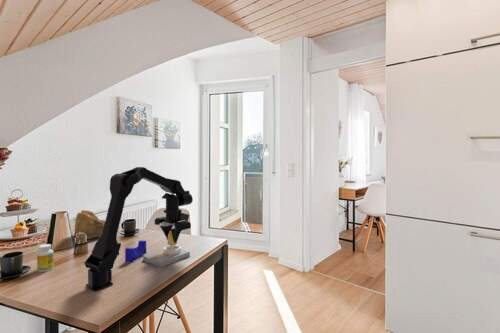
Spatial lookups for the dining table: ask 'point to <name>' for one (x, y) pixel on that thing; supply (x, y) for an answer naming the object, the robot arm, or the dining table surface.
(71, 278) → the dining table surface
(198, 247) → the dining table surface
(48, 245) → the supplement bottle
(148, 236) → the dining table surface
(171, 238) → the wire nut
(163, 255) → the plate
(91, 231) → the rough brown rock
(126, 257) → the cable clip
